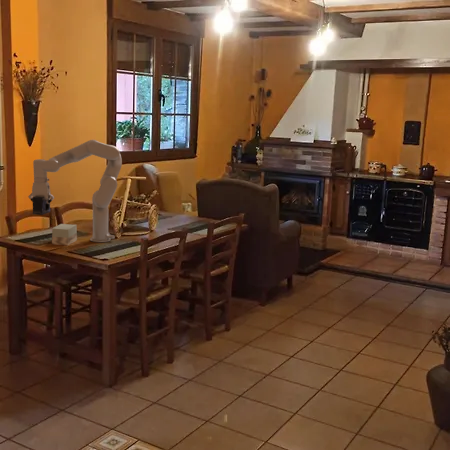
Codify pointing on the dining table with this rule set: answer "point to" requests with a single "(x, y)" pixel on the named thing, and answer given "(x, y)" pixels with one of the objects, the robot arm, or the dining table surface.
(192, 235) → the dining table surface
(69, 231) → the tower top
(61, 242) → the tower base
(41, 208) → the small box
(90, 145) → the robot arm
